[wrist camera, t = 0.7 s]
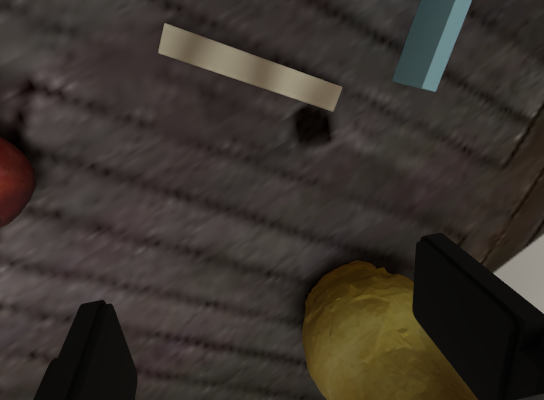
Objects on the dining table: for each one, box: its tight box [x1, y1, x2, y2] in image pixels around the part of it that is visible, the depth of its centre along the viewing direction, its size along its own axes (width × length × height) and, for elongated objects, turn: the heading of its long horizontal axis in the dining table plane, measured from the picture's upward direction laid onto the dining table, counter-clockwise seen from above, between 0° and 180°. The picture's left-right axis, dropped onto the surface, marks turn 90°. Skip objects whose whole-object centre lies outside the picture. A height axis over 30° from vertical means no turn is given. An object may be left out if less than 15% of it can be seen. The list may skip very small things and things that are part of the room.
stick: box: [158, 23, 342, 111], centre depth 37 cm, size 18×3×3 cm, turn 71°
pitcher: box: [302, 260, 478, 400], centre depth 42 cm, size 17×19×25 cm
